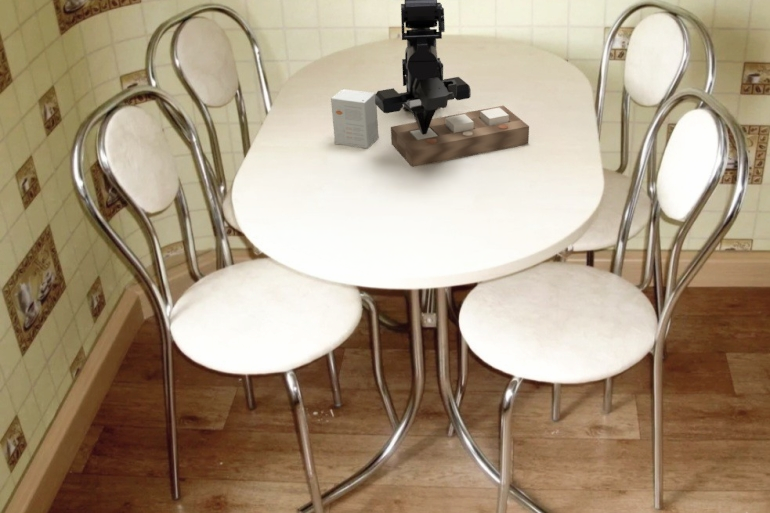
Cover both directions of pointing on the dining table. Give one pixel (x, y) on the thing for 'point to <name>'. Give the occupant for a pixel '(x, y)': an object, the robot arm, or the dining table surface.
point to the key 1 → (419, 135)
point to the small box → (355, 118)
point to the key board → (458, 139)
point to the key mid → (459, 123)
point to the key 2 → (494, 116)
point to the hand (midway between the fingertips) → (423, 133)
